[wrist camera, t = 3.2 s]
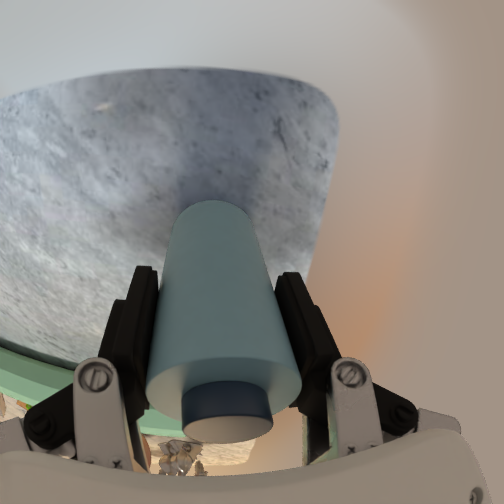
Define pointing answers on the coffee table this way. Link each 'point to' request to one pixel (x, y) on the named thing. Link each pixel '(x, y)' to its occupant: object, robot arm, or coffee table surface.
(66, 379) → the container
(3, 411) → the picture frame
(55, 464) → the robot arm
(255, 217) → the coffee table surface
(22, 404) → the board
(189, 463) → the robot toy
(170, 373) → the bottle
